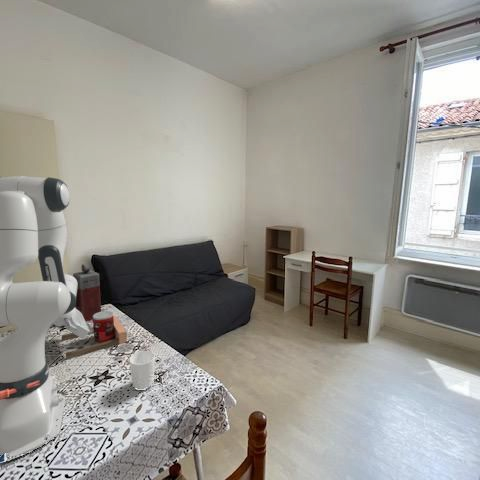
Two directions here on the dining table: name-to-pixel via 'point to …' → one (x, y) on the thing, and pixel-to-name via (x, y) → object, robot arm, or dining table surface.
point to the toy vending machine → (88, 292)
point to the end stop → (119, 331)
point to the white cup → (142, 369)
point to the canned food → (103, 326)
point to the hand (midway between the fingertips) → (92, 330)
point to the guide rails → (87, 349)
